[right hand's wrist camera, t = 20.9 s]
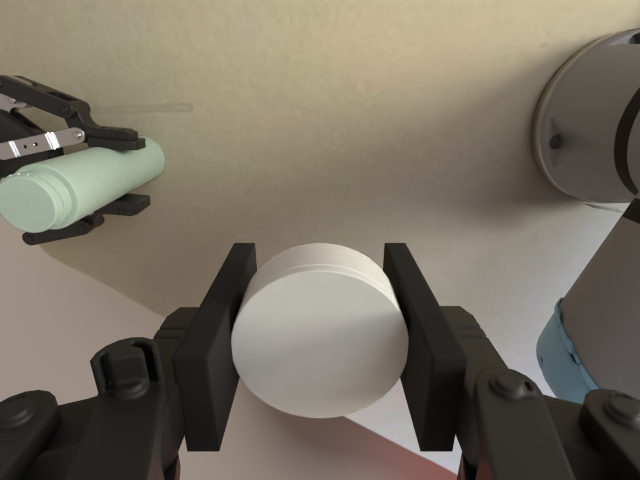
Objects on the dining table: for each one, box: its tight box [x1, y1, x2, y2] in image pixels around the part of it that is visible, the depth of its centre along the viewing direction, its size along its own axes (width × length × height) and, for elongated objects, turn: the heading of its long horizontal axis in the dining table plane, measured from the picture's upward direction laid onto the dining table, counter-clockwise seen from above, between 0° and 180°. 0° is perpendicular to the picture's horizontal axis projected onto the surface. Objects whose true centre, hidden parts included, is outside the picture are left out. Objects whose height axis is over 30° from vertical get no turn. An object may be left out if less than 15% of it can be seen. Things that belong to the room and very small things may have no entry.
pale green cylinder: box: [0, 136, 165, 233], centre depth 30 cm, size 4×4×16 cm
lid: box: [231, 243, 409, 418], centre depth 11 cm, size 5×5×2 cm
